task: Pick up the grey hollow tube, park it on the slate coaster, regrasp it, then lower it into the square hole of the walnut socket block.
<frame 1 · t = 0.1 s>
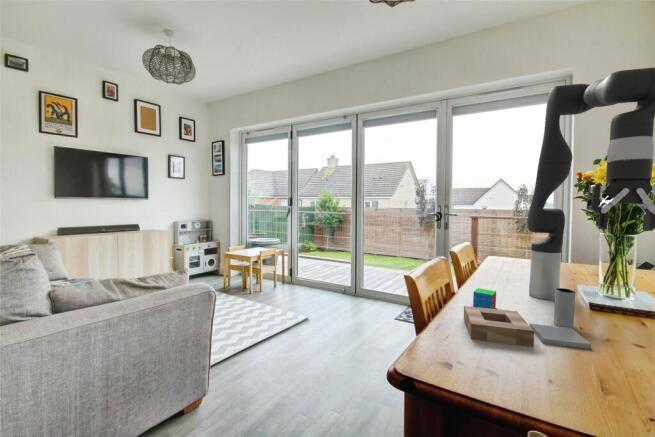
hand: (624, 229, 71), 29 cm above the table, fingers open, 8 cm apart
socket block: (494, 331, 83), on the table
grey hollow tube: (563, 326, 88), on the table
coaster: (557, 337, 80), on the table
puzzle toy: (484, 308, 102), on the table
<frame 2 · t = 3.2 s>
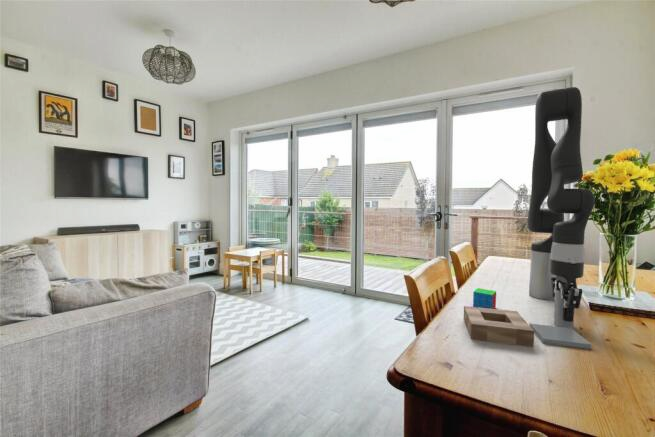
hand: (563, 317, 88), 2 cm above the table, fingers closed on grey hollow tube, 4 cm apart
grey hollow tube: (563, 326, 88), on the table, touching gripper
everything else where it was.
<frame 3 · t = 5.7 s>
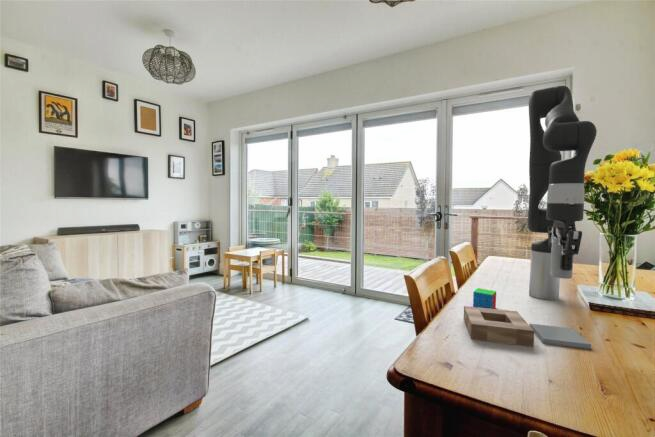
hand: (561, 267, 79), 18 cm above the table, fingers closed on grey hollow tube, 4 cm apart
grey hollow tube: (560, 277, 79), point 16 cm above the table, touching gripper
everything else where it was.
when the fingers open (4 cm above the table, at t = 8.5 s): grey hollow tube stays where it is, resting on coaster.
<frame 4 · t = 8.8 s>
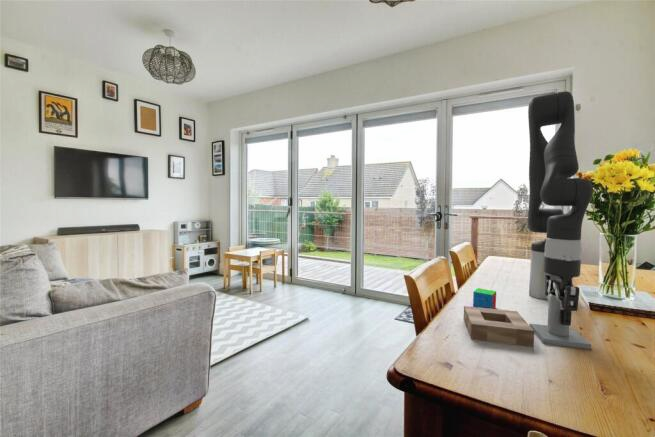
hand: (558, 319, 80), 5 cm above the table, fingers open, 6 cm apart
grey hollow tube: (558, 333, 80), point 1 cm above the table, touching coaster
everything else where it was.
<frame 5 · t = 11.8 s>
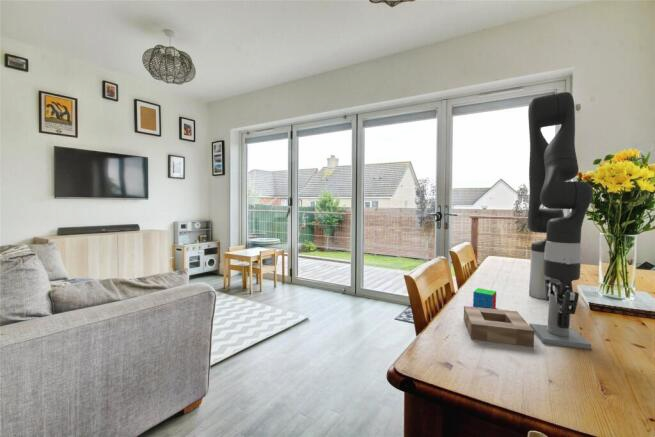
hand: (558, 323, 80), 4 cm above the table, fingers closed on grey hollow tube, 4 cm apart
grey hollow tube: (558, 333, 80), point 1 cm above the table, touching coaster, gripper
everything else where it was.
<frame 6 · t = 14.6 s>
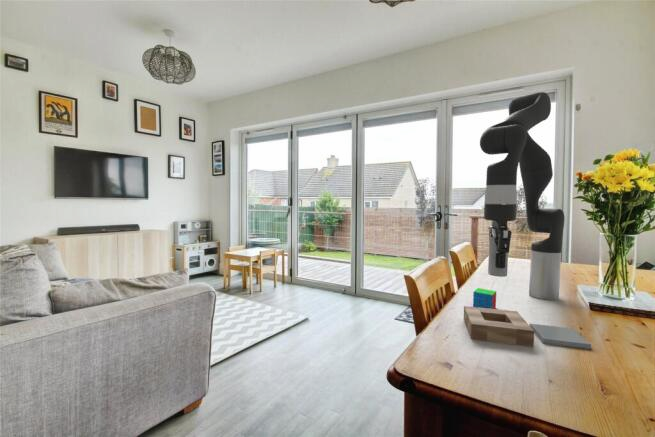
hand: (497, 265, 83), 18 cm above the table, fingers closed on grey hollow tube, 4 cm apart
grey hollow tube: (497, 275, 83), point 15 cm above the table, touching gripper
everything else where it was.
when the fingers open (5 cm above the table, at t = 17.8 s): grey hollow tube drops 3 cm, resting in socket block.
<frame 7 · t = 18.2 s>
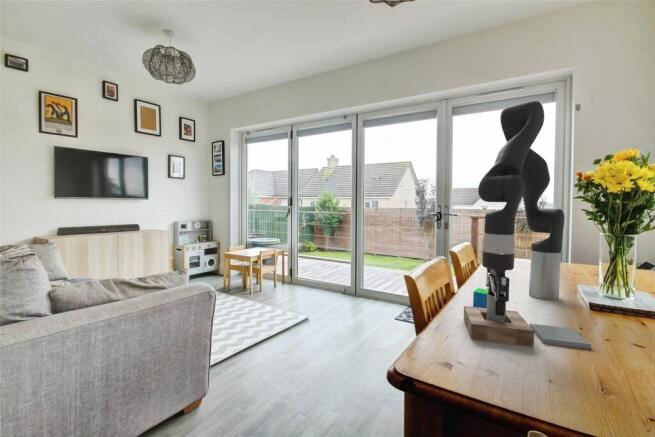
hand: (495, 309, 83), 6 cm above the table, fingers open, 8 cm apart
grey hollow tube: (495, 332, 84), resting in socket block
everything else where it was.
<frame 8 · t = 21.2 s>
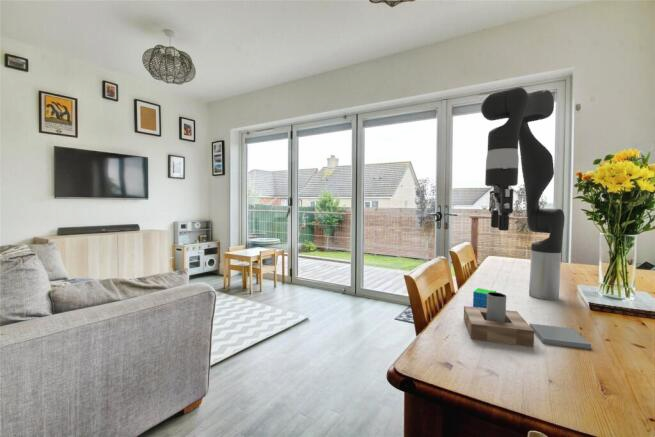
hand: (499, 228, 82), 28 cm above the table, fingers open, 8 cm apart
nothing on the table moved.
at the end: grey hollow tube 0.1 cm off-centre on the socket block, point 0.0 cm above the socket block's base; grey hollow tube tilted 0°; the gripper is holding nothing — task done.
